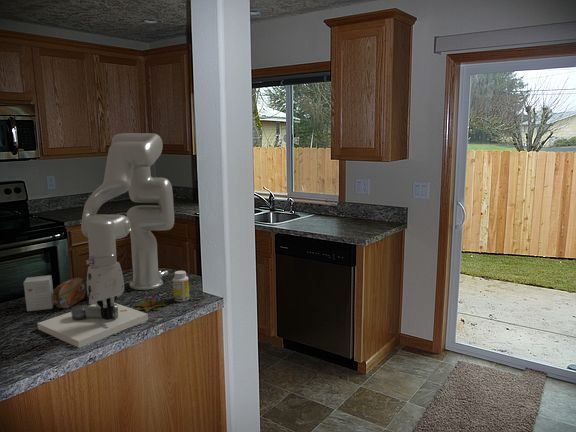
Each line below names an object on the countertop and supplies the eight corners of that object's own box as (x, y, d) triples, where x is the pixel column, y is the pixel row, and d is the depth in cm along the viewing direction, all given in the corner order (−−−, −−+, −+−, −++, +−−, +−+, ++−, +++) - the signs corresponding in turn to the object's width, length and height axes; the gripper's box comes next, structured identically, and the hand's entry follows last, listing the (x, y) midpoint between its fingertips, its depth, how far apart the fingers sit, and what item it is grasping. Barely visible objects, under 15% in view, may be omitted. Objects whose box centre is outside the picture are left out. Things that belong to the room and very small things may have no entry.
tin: (60, 312, 159) (58, 288, 157) (52, 311, 159) (50, 287, 158) (88, 296, 173) (86, 274, 172) (80, 296, 174) (78, 274, 172)
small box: (55, 303, 166) (52, 274, 165) (52, 308, 161) (49, 279, 159) (29, 306, 164) (26, 277, 162) (26, 311, 159) (23, 282, 157)
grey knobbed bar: (68, 319, 147) (67, 306, 146) (77, 313, 151) (76, 300, 151) (113, 321, 145) (112, 308, 144) (121, 315, 150) (120, 302, 149)
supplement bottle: (187, 295, 174) (186, 269, 172) (191, 300, 169) (189, 273, 167) (171, 298, 172) (170, 271, 170) (175, 303, 167) (174, 275, 165)
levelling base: (106, 305, 164) (105, 295, 164) (147, 319, 152) (147, 309, 151) (38, 329, 145) (36, 318, 144) (79, 348, 133) (78, 336, 132)
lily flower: (138, 301, 170) (137, 289, 169) (171, 301, 170) (171, 288, 169) (128, 314, 158) (127, 301, 157) (164, 314, 158) (163, 301, 157)
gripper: (87, 267, 133) (92, 329, 136) (132, 256, 145) (135, 313, 148) (72, 263, 137) (77, 323, 140) (117, 253, 149) (120, 308, 152)
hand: (107, 318), depth 144 cm, fingers closed
